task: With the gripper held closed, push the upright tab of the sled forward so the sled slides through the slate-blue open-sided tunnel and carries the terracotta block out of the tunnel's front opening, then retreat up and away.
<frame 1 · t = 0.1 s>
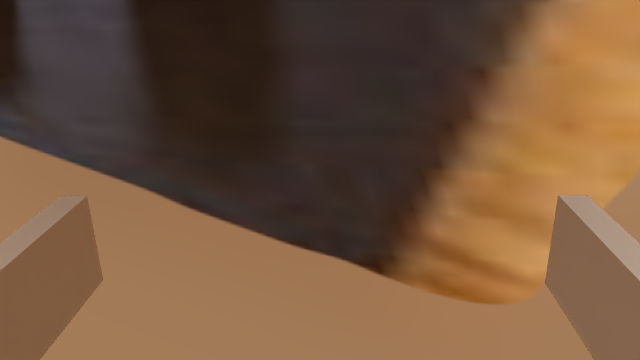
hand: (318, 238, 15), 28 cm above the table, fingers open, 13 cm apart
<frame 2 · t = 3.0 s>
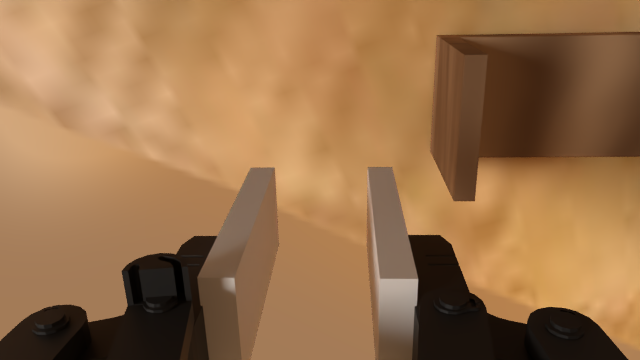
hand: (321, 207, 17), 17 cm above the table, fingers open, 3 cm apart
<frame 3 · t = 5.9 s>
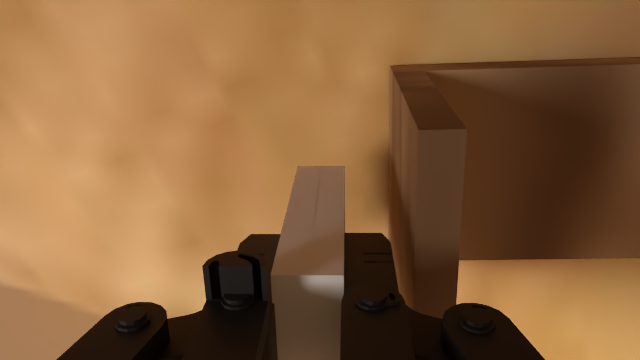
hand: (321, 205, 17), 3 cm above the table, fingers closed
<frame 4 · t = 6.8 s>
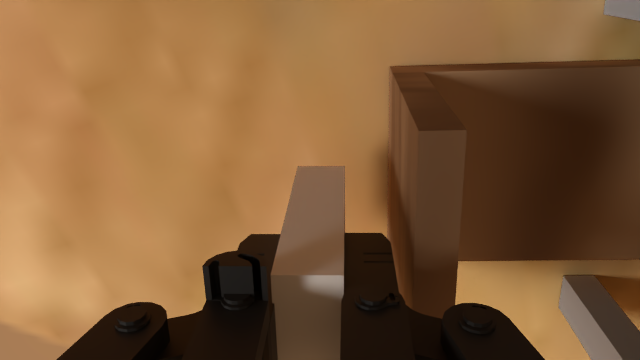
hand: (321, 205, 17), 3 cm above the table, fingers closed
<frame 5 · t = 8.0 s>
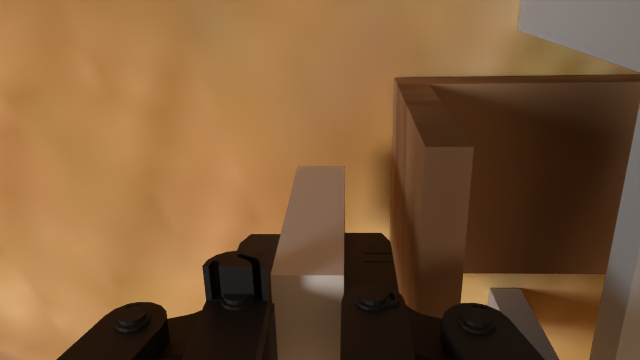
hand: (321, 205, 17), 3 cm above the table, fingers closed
tunnel: (628, 170, 19), on the table
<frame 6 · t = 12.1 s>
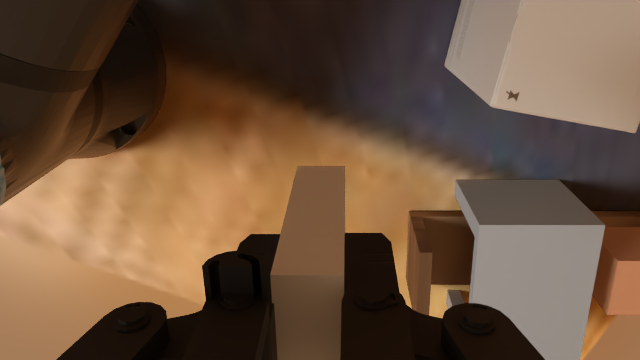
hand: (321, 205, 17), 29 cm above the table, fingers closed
tunnel: (499, 244, 50), on the table
supplement box: (510, 21, 43), on the table
sled: (547, 267, 46), point 4 cm above the table, slide at 9.4 cm, touching block
block: (610, 252, 48), point 1 cm above the table, touching sled
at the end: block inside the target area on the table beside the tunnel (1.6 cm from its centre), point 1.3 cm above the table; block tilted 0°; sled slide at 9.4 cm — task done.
